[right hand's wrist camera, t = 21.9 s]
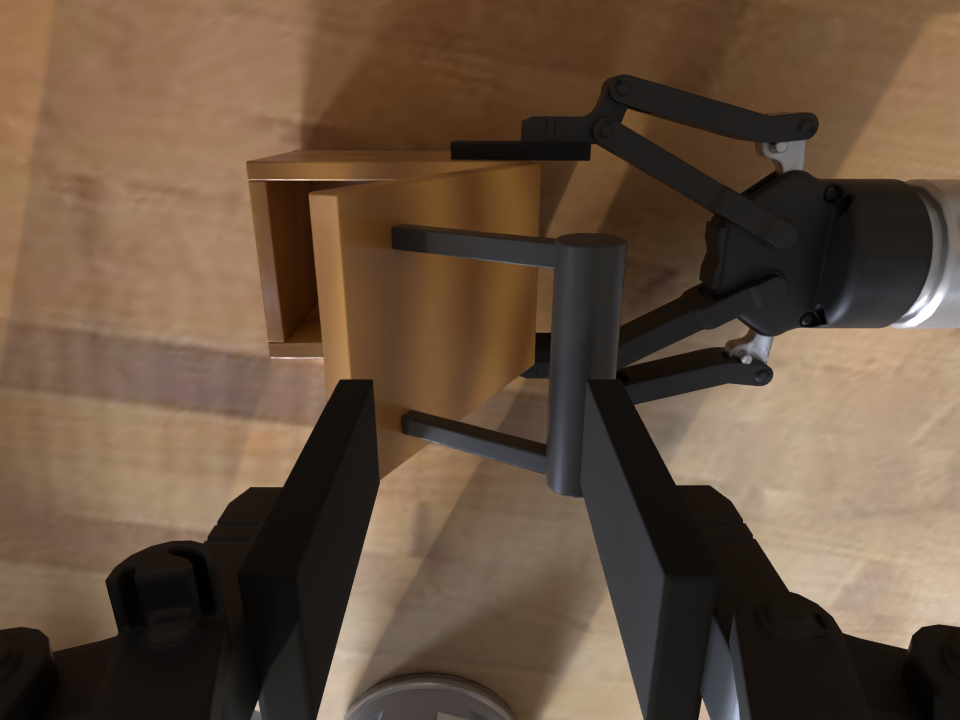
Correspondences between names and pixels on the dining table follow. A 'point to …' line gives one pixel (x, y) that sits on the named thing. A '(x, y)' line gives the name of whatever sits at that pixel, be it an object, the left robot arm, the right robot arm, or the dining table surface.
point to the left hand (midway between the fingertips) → (453, 254)
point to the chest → (289, 232)
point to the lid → (462, 310)
